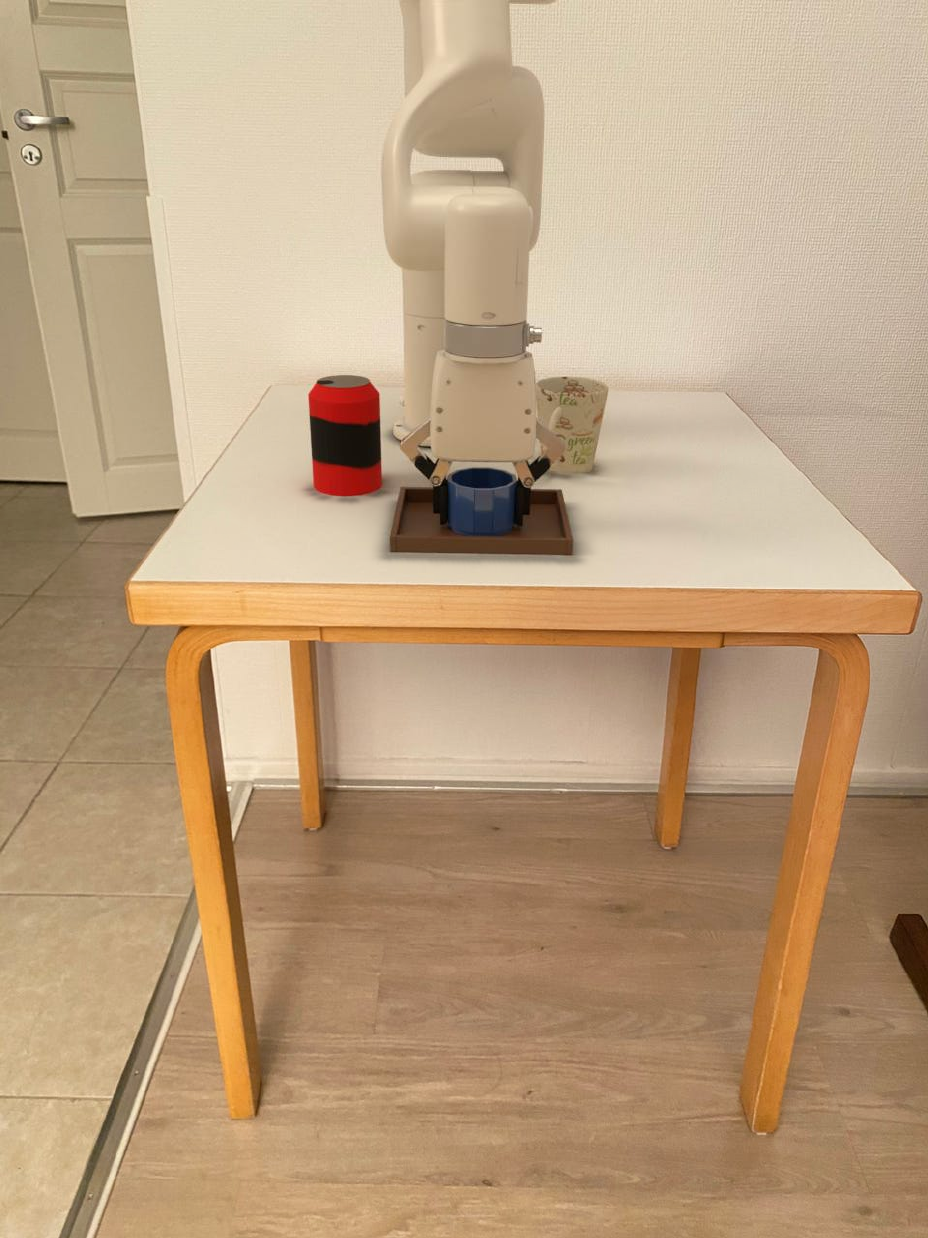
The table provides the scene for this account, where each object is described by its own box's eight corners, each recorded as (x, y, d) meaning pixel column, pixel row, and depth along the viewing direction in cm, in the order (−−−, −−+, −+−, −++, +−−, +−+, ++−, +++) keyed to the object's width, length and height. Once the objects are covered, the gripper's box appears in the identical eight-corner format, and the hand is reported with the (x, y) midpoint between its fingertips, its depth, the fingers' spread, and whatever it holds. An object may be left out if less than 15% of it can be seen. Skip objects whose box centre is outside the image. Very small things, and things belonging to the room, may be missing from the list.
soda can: (307, 481, 111) (301, 375, 106) (372, 474, 113) (368, 371, 108) (322, 503, 105) (316, 392, 99) (390, 495, 107) (387, 386, 102)
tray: (390, 556, 92) (389, 536, 91) (400, 504, 105) (400, 486, 104) (572, 559, 92) (573, 540, 91) (560, 506, 105) (561, 489, 104)
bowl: (434, 521, 99) (434, 474, 97) (490, 509, 102) (491, 463, 100) (470, 543, 94) (471, 494, 92) (528, 529, 97) (530, 482, 95)
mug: (608, 462, 119) (615, 380, 114) (585, 495, 108) (591, 406, 104) (542, 454, 121) (546, 373, 117) (513, 486, 111) (516, 398, 106)
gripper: (575, 333, 93) (564, 508, 101) (394, 330, 93) (397, 506, 101) (583, 349, 87) (570, 536, 95) (387, 346, 87) (391, 533, 95)
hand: (481, 519), depth 98 cm, fingers closed on bowl, 6 cm apart
